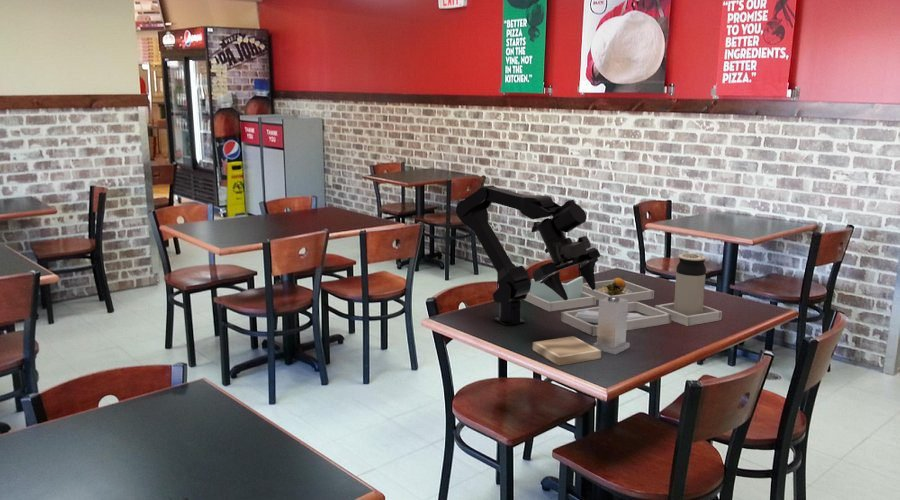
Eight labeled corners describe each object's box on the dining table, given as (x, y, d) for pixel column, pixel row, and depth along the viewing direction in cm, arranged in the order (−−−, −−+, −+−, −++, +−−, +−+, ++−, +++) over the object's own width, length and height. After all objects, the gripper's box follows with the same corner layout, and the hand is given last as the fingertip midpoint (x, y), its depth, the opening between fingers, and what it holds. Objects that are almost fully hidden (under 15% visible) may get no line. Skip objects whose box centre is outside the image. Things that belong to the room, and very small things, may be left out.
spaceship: (577, 326, 204) (578, 311, 203) (572, 319, 210) (572, 304, 209) (659, 325, 205) (660, 310, 205) (651, 318, 212) (652, 303, 211)
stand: (532, 349, 184) (532, 341, 183) (573, 343, 189) (573, 335, 188) (558, 365, 173) (558, 357, 173) (600, 358, 178) (601, 350, 178)
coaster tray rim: (518, 297, 232) (518, 289, 231) (563, 291, 239) (563, 284, 238) (548, 311, 217) (549, 303, 216) (595, 304, 224) (595, 296, 223)
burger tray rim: (577, 291, 239) (577, 284, 238) (618, 286, 246) (619, 278, 246) (610, 304, 224) (610, 296, 223) (653, 298, 231) (654, 290, 231)
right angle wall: (582, 300, 230) (583, 276, 228) (566, 309, 220) (567, 284, 218) (547, 294, 236) (547, 272, 234) (530, 303, 226) (531, 279, 224)
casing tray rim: (560, 320, 208) (560, 312, 207) (635, 309, 219) (636, 301, 219) (592, 336, 195) (593, 327, 194) (671, 323, 206) (671, 314, 206)
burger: (610, 289, 243) (611, 267, 242) (641, 296, 235) (642, 273, 233) (588, 295, 235) (589, 272, 234) (619, 303, 227) (620, 279, 225)
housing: (592, 348, 185) (594, 298, 183) (606, 341, 190) (609, 292, 188) (615, 354, 181) (618, 302, 178) (629, 347, 186) (632, 297, 183)
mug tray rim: (654, 313, 215) (655, 305, 215) (688, 308, 221) (688, 300, 220) (686, 326, 204) (687, 317, 203) (721, 320, 209) (722, 311, 209)
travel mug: (671, 319, 210) (676, 257, 206) (674, 311, 217) (678, 252, 214) (701, 322, 207) (706, 260, 203) (702, 314, 214) (707, 254, 211)
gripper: (541, 237, 180) (568, 295, 177) (598, 219, 189) (625, 274, 186) (521, 253, 190) (546, 309, 187) (576, 235, 198) (601, 288, 195)
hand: (580, 294), depth 188 cm, fingers open, 9 cm apart
